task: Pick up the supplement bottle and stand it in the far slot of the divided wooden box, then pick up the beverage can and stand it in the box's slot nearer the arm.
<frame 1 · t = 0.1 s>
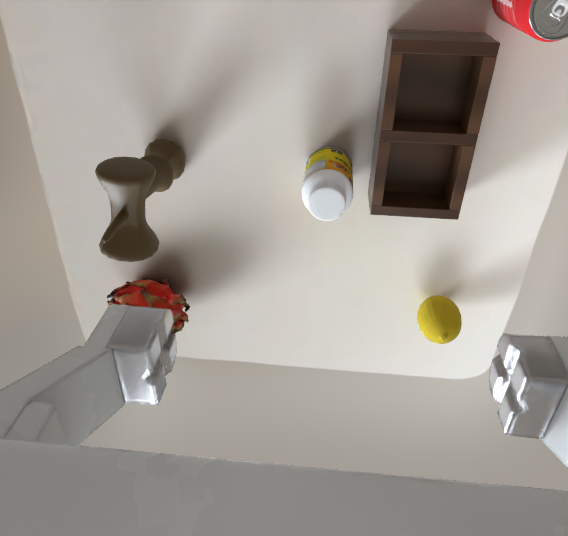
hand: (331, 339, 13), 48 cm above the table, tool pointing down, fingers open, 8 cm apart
divided wooden box: (421, 121, 57), on the table
kendama: (167, 157, 62), on the table
dragon fruit: (156, 291, 74), on the table
supplement bottle: (328, 166, 61), on the table
lemon: (434, 299, 70), on the table
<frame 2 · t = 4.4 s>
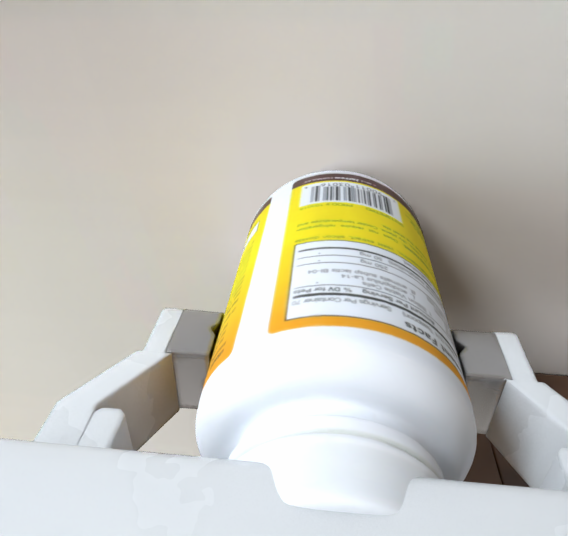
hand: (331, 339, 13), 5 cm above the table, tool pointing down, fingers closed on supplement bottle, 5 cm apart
divided wooden box: (457, 451, 22), on the table
supplement bottle: (335, 239, 17), on the table, touching gripper
when the fingers open (6 cm above the table, at t = 10.4 s): supplement bottle stays where it is, resting on divided wooden box.
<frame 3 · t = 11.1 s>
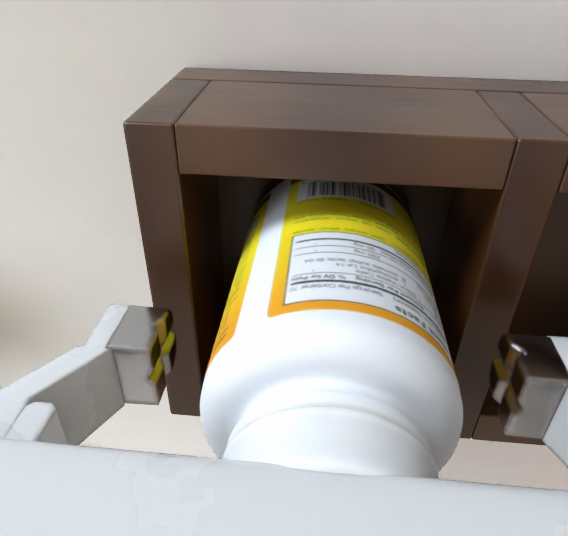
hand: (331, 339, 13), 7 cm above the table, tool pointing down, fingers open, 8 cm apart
divided wooden box: (451, 221, 18), on the table
supplement bottle: (331, 234, 17), point 1 cm above the table, touching divided wooden box
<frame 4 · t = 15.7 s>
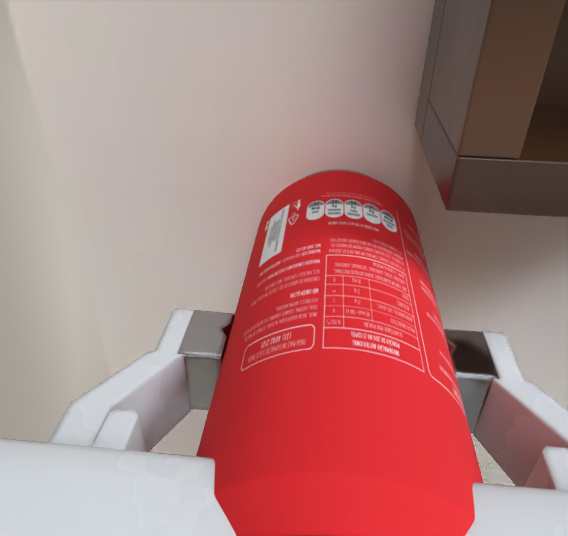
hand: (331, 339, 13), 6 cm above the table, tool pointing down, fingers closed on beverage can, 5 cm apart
beverage can: (336, 226, 17), on the table, touching gripper
when the fingers open (7 cm above the table, at t = 21.6 s): beverage can stays where it is, resting on divided wooden box.
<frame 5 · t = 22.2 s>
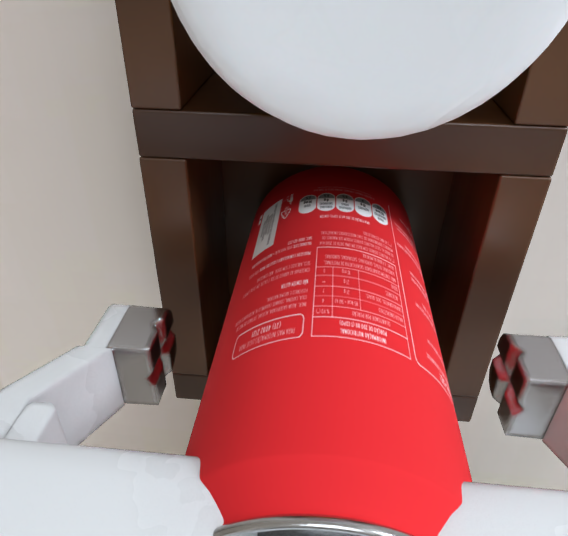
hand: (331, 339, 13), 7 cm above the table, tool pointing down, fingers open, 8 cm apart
divided wooden box: (341, 83, 16), on the table
beverage can: (330, 221, 18), point 1 cm above the table, touching divided wooden box
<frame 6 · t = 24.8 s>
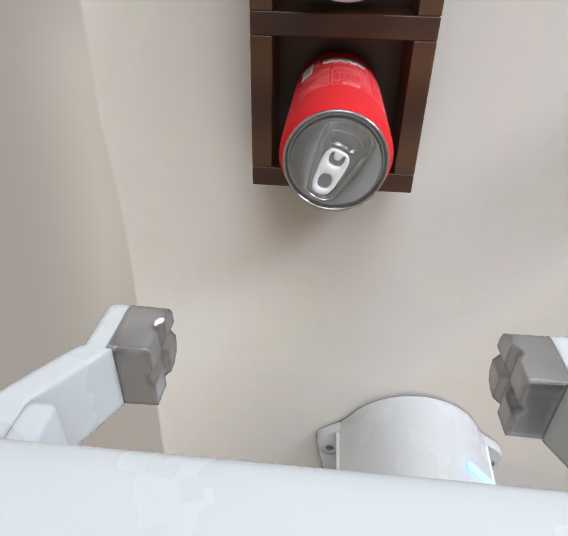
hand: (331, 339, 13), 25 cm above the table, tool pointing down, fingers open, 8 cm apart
divided wooden box: (343, 11, 31), on the table
beverage can: (336, 90, 32), point 1 cm above the table, touching divided wooden box
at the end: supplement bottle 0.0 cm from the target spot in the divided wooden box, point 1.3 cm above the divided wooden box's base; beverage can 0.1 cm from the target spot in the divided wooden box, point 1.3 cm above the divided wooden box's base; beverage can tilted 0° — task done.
